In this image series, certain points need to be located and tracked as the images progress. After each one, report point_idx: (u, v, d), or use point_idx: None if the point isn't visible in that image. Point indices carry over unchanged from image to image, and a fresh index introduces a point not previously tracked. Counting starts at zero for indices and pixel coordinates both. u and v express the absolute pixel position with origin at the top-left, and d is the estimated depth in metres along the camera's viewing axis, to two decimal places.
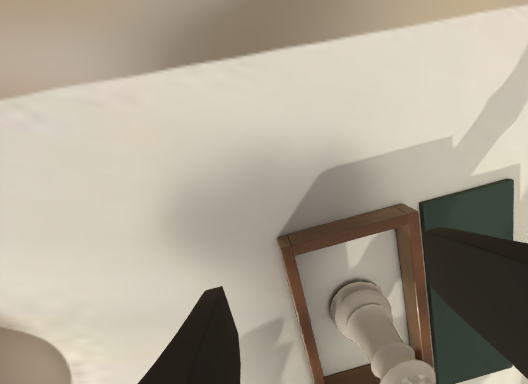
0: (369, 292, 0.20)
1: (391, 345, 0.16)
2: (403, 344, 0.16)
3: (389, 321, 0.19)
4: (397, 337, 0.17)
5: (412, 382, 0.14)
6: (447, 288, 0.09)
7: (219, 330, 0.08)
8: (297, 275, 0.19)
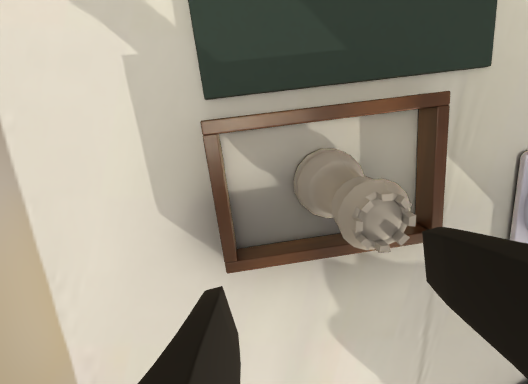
0: (300, 179, 0.17)
1: (333, 209, 0.13)
2: (336, 194, 0.13)
3: (327, 177, 0.15)
4: (336, 188, 0.14)
5: (355, 230, 0.11)
6: (447, 288, 0.09)
7: (219, 330, 0.08)
8: (260, 259, 0.18)
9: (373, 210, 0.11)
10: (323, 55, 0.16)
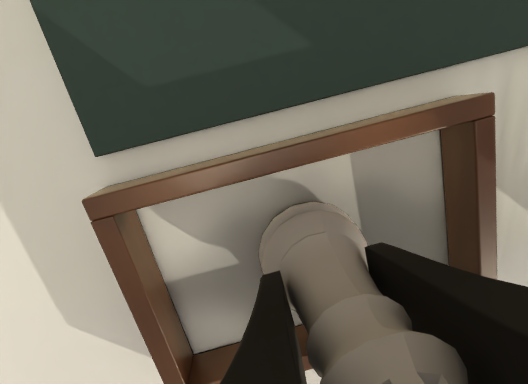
0: (265, 261, 0.11)
1: (311, 358, 0.07)
2: (312, 333, 0.07)
3: (302, 272, 0.09)
4: (313, 307, 0.08)
5: None
6: None
7: (288, 311, 0.08)
8: None
9: None
10: (275, 62, 0.10)
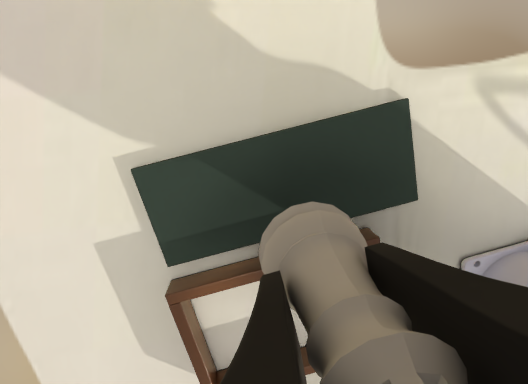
0: (264, 261, 0.11)
1: (311, 358, 0.07)
2: (312, 333, 0.07)
3: (301, 272, 0.09)
4: (313, 307, 0.08)
5: None
6: None
7: (288, 311, 0.08)
8: None
9: None
10: (265, 218, 0.19)
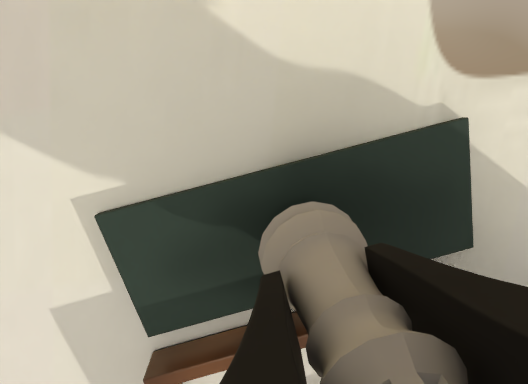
0: (264, 261, 0.11)
1: (311, 359, 0.07)
2: (312, 333, 0.07)
3: (302, 272, 0.09)
4: (313, 307, 0.08)
5: None
6: None
7: (288, 311, 0.08)
8: None
9: None
10: None
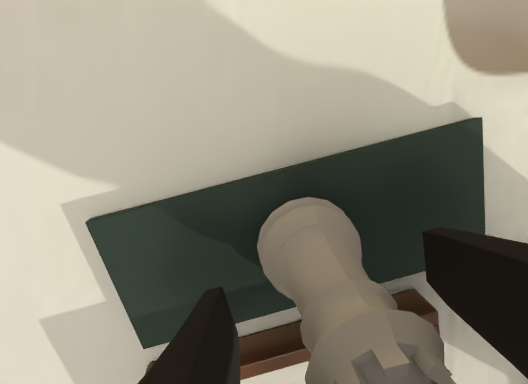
0: (263, 253, 0.11)
1: (305, 338, 0.08)
2: (306, 314, 0.07)
3: (297, 261, 0.09)
4: (307, 292, 0.08)
5: None
6: (447, 288, 0.09)
7: (219, 330, 0.08)
8: None
9: None
10: None
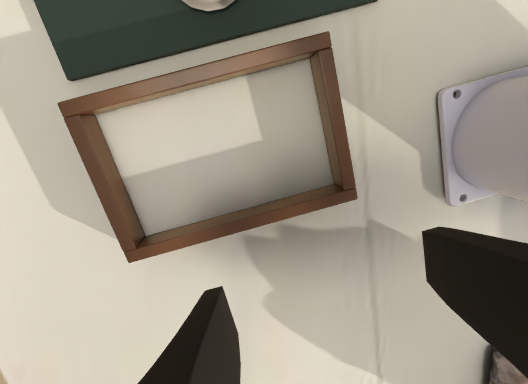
0: None
1: None
2: None
3: None
4: None
5: None
6: (447, 288, 0.09)
7: (219, 330, 0.08)
8: (161, 243, 0.17)
9: None
10: (186, 14, 0.15)
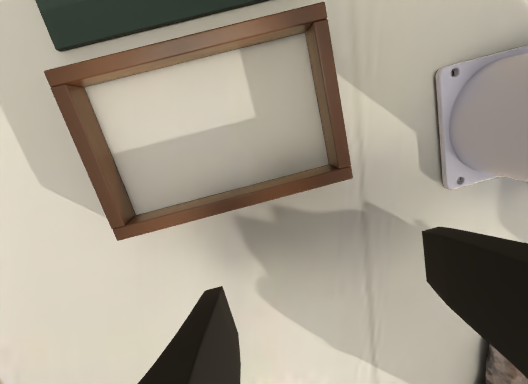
0: None
1: None
2: None
3: None
4: None
5: None
6: (447, 288, 0.09)
7: (219, 330, 0.08)
8: (150, 220, 0.16)
9: None
10: None
